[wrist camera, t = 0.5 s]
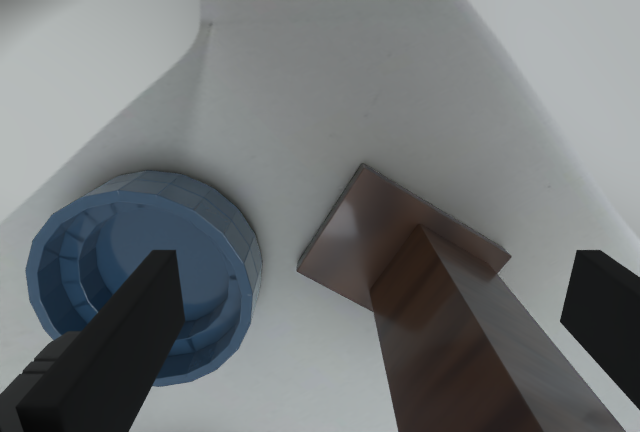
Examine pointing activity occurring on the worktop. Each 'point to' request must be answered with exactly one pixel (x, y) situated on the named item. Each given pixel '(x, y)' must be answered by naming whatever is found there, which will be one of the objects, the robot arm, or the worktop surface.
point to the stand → (446, 318)
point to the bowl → (134, 246)
